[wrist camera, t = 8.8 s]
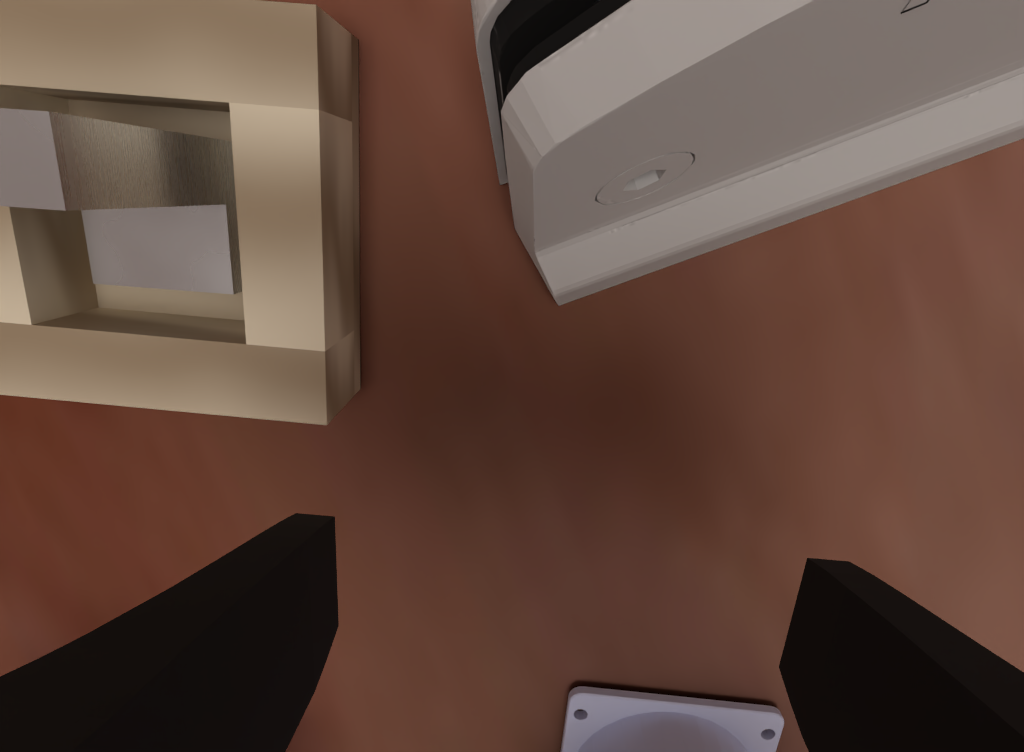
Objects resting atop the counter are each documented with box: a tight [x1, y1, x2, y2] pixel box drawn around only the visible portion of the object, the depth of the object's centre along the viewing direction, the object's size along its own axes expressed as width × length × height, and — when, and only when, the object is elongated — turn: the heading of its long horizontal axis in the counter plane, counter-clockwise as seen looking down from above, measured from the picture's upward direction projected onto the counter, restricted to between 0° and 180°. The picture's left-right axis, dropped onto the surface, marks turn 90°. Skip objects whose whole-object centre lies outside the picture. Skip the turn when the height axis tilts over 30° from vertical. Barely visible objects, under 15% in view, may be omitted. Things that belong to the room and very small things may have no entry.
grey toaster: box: [471, 0, 1024, 306], centre depth 11 cm, size 17×5×10 cm, turn 111°
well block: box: [0, 0, 360, 425], centre depth 16 cm, size 10×10×3 cm
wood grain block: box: [0, 108, 242, 294], centre depth 13 cm, size 4×4×6 cm
